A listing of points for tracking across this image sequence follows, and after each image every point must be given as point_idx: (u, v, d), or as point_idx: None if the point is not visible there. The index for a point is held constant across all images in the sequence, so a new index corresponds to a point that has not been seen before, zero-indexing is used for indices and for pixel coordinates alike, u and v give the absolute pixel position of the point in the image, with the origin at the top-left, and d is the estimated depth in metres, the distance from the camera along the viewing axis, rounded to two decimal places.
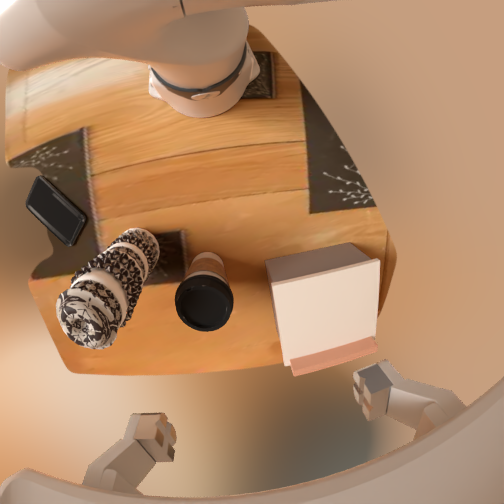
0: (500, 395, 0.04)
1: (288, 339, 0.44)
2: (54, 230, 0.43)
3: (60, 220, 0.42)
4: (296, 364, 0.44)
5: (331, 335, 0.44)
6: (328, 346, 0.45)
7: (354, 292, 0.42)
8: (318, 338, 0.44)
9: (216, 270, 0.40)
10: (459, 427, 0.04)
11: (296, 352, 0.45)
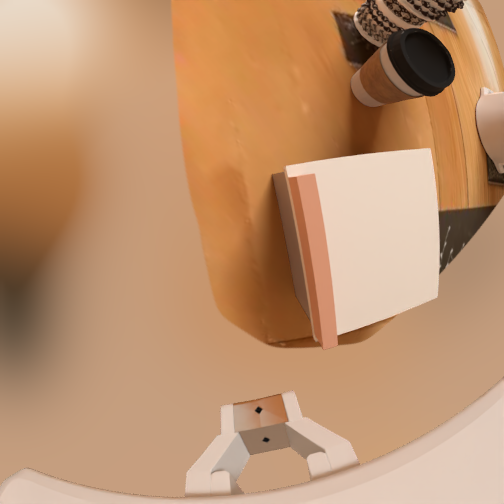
0: (500, 395, 0.04)
1: (352, 169, 0.23)
2: None
3: None
4: None
5: (348, 250, 0.25)
6: None
7: (411, 271, 0.26)
8: (347, 226, 0.24)
9: None
10: (459, 427, 0.04)
11: (321, 186, 0.23)
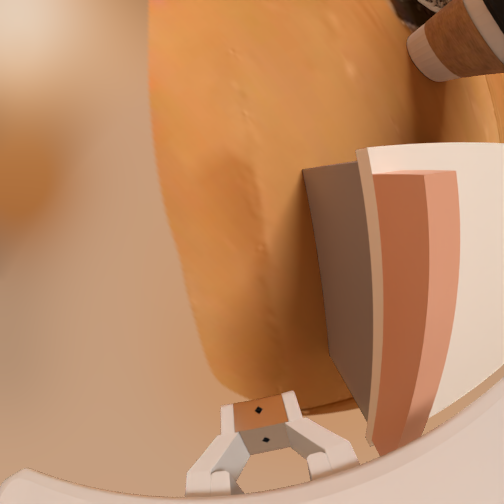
0: (500, 395, 0.04)
1: (471, 169, 0.09)
2: None
3: None
4: None
5: None
6: None
7: None
8: None
9: None
10: (459, 427, 0.04)
11: None
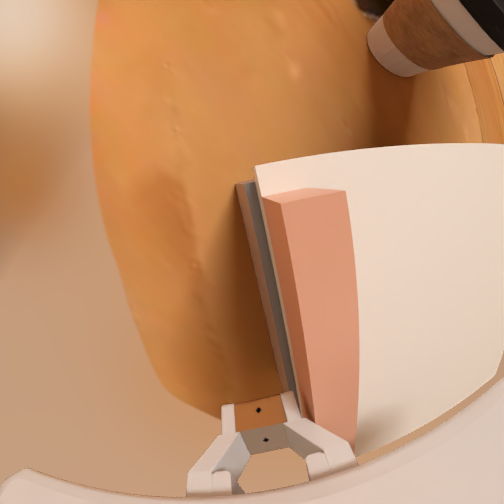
0: (500, 395, 0.04)
1: (418, 177, 0.09)
2: None
3: None
4: None
5: (392, 352, 0.11)
6: None
7: (477, 355, 0.12)
8: (398, 307, 0.10)
9: None
10: (459, 427, 0.04)
11: (349, 220, 0.09)
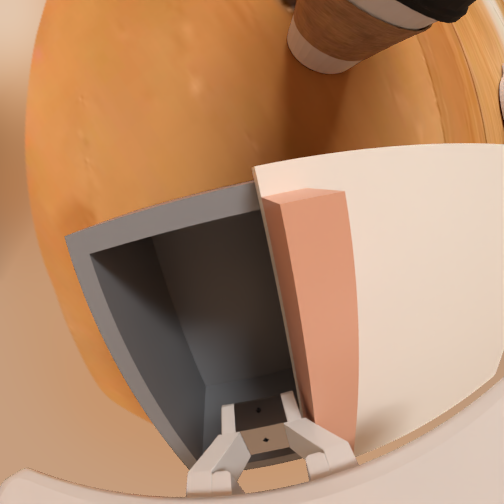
0: (500, 395, 0.04)
1: (418, 178, 0.09)
2: None
3: None
4: None
5: (391, 352, 0.11)
6: None
7: (476, 355, 0.12)
8: (398, 307, 0.10)
9: None
10: (459, 427, 0.04)
11: (349, 220, 0.09)
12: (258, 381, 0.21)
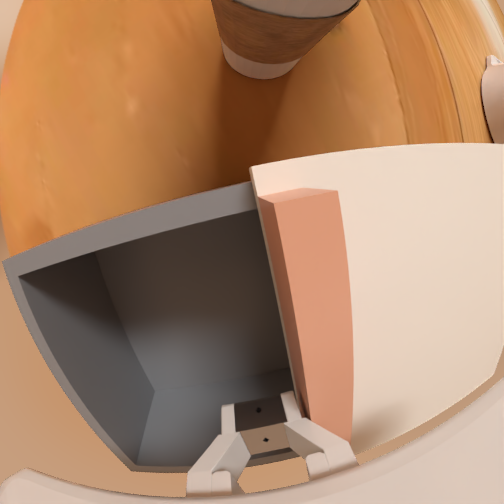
0: (500, 395, 0.04)
1: (414, 177, 0.09)
2: None
3: None
4: None
5: (388, 350, 0.11)
6: None
7: (474, 355, 0.12)
8: (394, 305, 0.10)
9: None
10: (459, 427, 0.04)
11: (344, 219, 0.09)
12: (201, 390, 0.21)
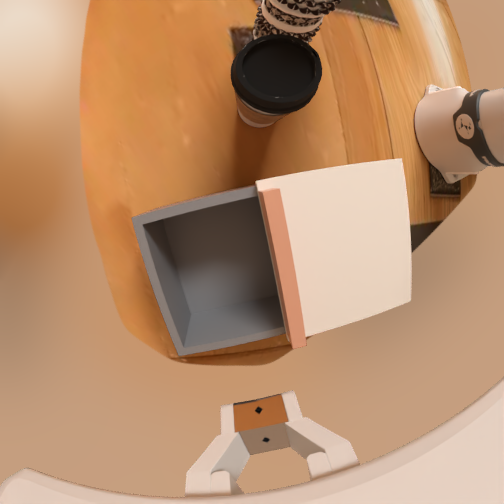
0: (500, 395, 0.04)
1: (320, 182, 0.26)
2: None
3: None
4: None
5: (316, 257, 0.28)
6: (294, 257, 0.27)
7: (382, 276, 0.29)
8: (315, 235, 0.27)
9: None
10: (459, 427, 0.04)
11: (289, 199, 0.26)
12: (222, 309, 0.38)
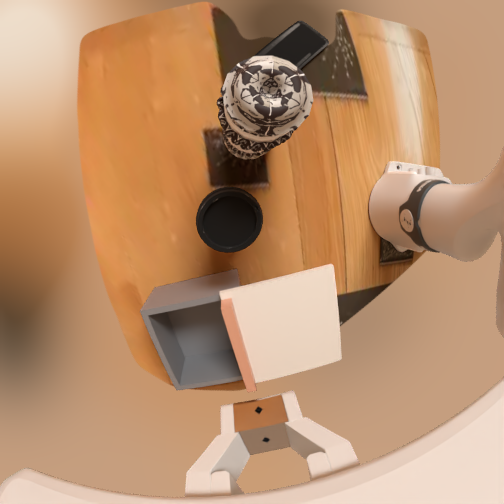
0: (500, 395, 0.04)
1: (264, 291, 0.39)
2: (271, 45, 0.39)
3: (282, 55, 0.39)
4: (233, 308, 0.37)
5: (263, 337, 0.41)
6: (247, 338, 0.40)
7: (314, 346, 0.42)
8: (261, 324, 0.40)
9: None
10: (459, 427, 0.04)
11: (242, 304, 0.39)
12: (206, 355, 0.51)
